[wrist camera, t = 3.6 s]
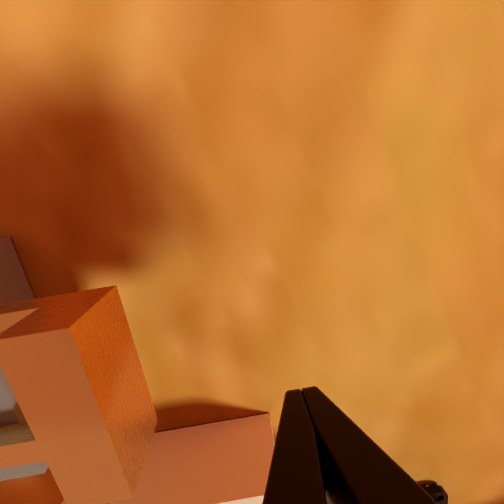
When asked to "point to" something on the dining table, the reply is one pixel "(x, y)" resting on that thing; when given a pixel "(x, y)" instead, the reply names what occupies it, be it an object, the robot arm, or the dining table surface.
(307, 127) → the dining table surface
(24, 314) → the brass guide bars
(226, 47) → the dining table surface
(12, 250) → the socket block
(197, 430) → the square hole block
